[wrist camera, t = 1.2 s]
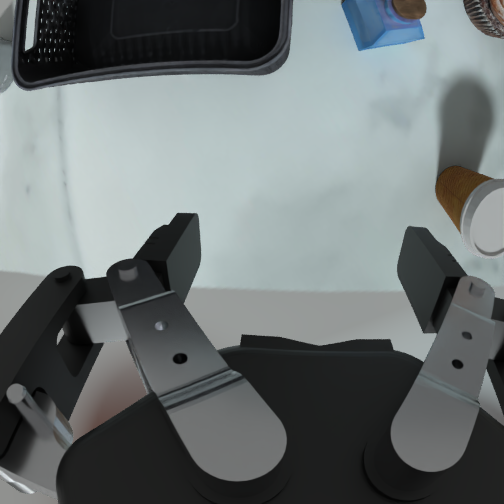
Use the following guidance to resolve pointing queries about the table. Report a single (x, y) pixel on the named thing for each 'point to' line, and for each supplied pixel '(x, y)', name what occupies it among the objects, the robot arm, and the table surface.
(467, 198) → the disposable coffee cup
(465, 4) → the cupcake
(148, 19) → the storage bin
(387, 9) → the perfume bottle
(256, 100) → the table surface
